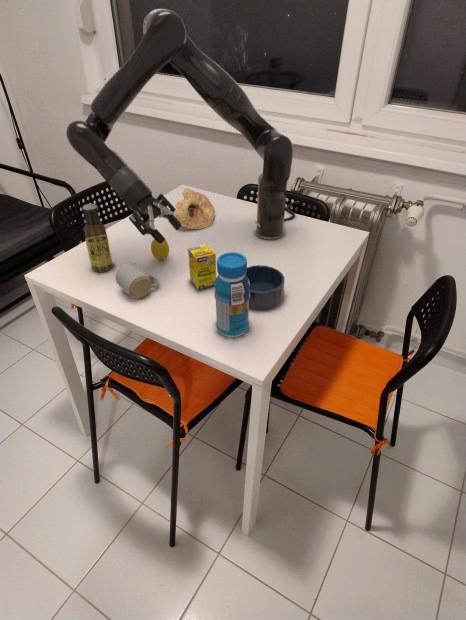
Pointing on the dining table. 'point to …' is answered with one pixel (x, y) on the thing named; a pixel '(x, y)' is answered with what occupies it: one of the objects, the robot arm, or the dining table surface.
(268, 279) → the dark blue bowl
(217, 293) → the beverage bottle
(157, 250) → the lemon
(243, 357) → the dining table surface
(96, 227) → the sauce bottle
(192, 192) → the tan lumpy rounded piece
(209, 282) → the supplement box
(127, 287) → the ceramic mug
